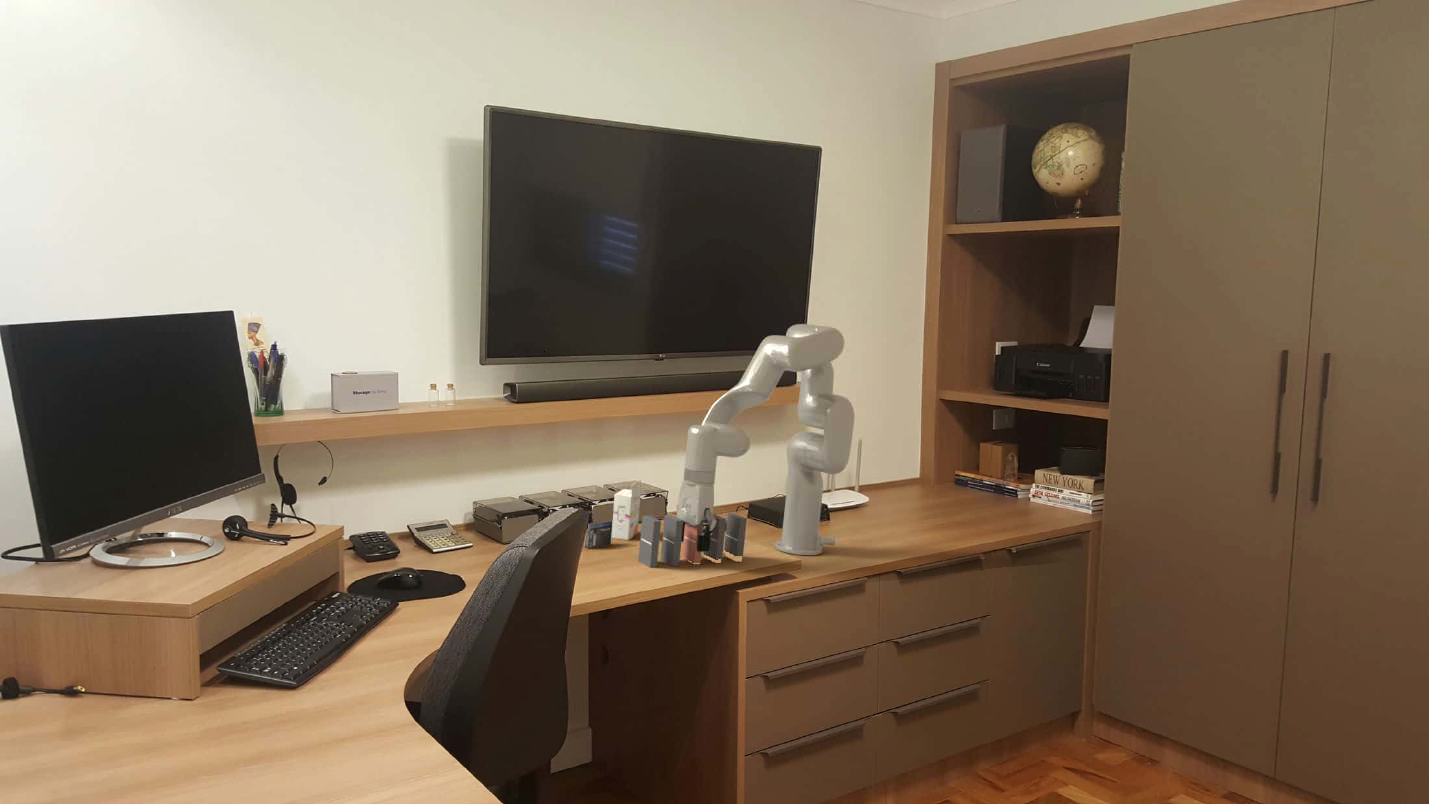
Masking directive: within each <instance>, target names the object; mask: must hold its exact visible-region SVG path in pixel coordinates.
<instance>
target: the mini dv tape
mask: <svg viewBox="0 0 1429 804" xmlns="http://www.w3.org/2000/svg"><path fill="white" fill-rule="evenodd" d="M587 524H588V529H587V536H586V540H585V547H584V546H583V549H588V550H589V549H590V550H591V549H594V548H600V547H604V546H606V547H607V546H610V545H612V538H611V536H612V524H613V520H612V521H611V520H602V521H596V522H595V521H594V522H590V523H587Z"/></svg>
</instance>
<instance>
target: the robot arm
mask: <svg viewBox="0 0 1429 804" xmlns="http://www.w3.org/2000/svg"><path fill="white" fill-rule="evenodd" d="M844 349H845V338H844V336H843V334H842V332H841V331H840V330H838V329H837V328H834V327H832V326H831V327H830V326H823V325H816V324H805V323H801V324H800V323H796V324H793V325H791V326H790V327H789V328H787V331H786V334H785V335H779V334H778V335H775V334H773V335H767V336H766V337H765V338H764V339H763V340H762V341H761V343H760V344H759V346H758V348H757V350H756V351H755V353H754V355H753V357H752V359H751V361H749V364H748V366H747V367H746V370H745V371H744V373H743V374H742V377H741V378H740V380H739V382H738V383H737V384H736V385H734V386H733V387H732V388H730V389H729V390H728V391H727V392H725V393H724V394H723V395H722V396H721V397H719V398H718V399H717V400H716V401H715V402H714V403H713V404H712V405H711V407H710V408H709V410H708V412H707V414H706V416H705V417H704V419H703V421H702V422H701V424H699V425H698V424H696V425H695V424H694V425H691V426H690V427H689V429H688V431H687V438H686V439H687V441H686V450H685V460H684V461H685V463H684V472H683V479H682V482H681V486H680V490H679V496H678V500H677V501H678V502H677V505H676V506H675V507H676V517H677V518H679V519H681V520H683V530H682V540H681V543H683V541H684V530H685V522H686V523H688V524H690V525H693V526H697V525H698V528H699V532H700V535H698V543H697V551H698V552H703V553H704V552H705V551H709V548H710V538H711V535H712V532H713V531H714V527H715V524H716V519H715V517H714V516H713V514H714V509H715V508H714V507H715V489H714V487H715V486H714V485H715V483H716V482H715V480H716V470H717V461H718V457H719V456H720V457H727V458H733V459H734V458H739V457H742V456H744V455H745V454H747V452H748V451H749V450H750V447H751V438H750V435H749V434H748V433H747V431H745V430H744V429H743V428H741V427H737V426H734V425H730V423H731V422H732V420H733V419H735V417H736V416H738V415H739V414H740V413H742V412H743V411H745V410H747V409H749V408H750V409H751V408H753V407H755V406H759V405H760V404H763V403H765V402H767V401H769V400H770V398H771V396H772V394H773V392H774V390H775V388H776V386H777V385H778V382H779V381H780V379H781V377H782V375H783V374H784V372H785V371H787V372H788V371H789V372H794V373H797V372H798V373H801V374H800V379H801V380H800V388H799V393H798V394H799V396H798V404H797V417H798V420H799V423H801V424H802V425H804V426H805V427H806V426H807V427H810V428H815V429H819V430H823V433H817V432H812V431H799V432H796V433H795V434H794V435H792V436H791V437H790V438H789V441H788V443H787V447H786V457H787V469H788V470H787V484H786V494H785V502H784V503H785V505H784V512H783V513H784V514H783V521H782V530H781V539H779V540H777V541H776V542H775V543H774V547H775V548H776V549H777V550H778V551H781V552H783V553H786V554H791V555H792V554H793V555H799V556H817V555H820V554H822V553H823V546H834V547H835V545H836V539H835V538H834V537H833V538H830V537H828V536H822V535H820V534H819V531H820V530H819V529H820V520H821V512H822V511H821V510H822V501H823V493H824V481H823V476H822V473H824V474H828V475H837V474H840V473H842V472H843V471H844V470H845V469H846V467H847V465H848V463H849V460H850V455H851V449H852V443H853V442H852V440H853V433H854V426H855V411H854V406H853V404H852V402H851V400H849V399H848V398H847V397H846V396H843V395H839V394H834V381H835V380H834V379H835V374H834V373H835V372H834V368H833V367H834V366H833V364H832V362H833V361H835V360H836V359H838V358H839V357H840V355H841V354H842V352H843V351H844ZM703 527H704V529H703Z"/></svg>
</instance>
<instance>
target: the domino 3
mask: <svg viewBox="0 0 1429 804" xmlns="http://www.w3.org/2000/svg"><path fill="white" fill-rule="evenodd" d="M703 529H705V526H704V527H703ZM698 535H700V532H699V528H698V525H697V526H693V525H690V524H688V523H686V522H685V530H684V541H683V542H682V554H681V558H682V557H684V558H685V559H687V560H689V561H691V562H692V563H701V562H702V552H698V551H697V543H698Z"/></svg>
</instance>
